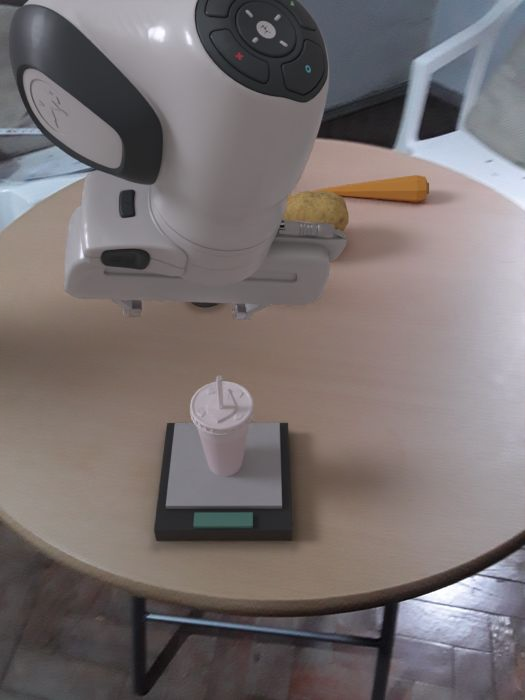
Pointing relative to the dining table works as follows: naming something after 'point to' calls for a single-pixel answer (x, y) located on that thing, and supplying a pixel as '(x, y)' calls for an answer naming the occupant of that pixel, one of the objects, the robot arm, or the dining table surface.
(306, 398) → the dining table surface
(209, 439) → the smoothie
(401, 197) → the carrot
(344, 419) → the dining table surface
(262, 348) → the dining table surface
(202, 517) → the scale
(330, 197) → the potato
